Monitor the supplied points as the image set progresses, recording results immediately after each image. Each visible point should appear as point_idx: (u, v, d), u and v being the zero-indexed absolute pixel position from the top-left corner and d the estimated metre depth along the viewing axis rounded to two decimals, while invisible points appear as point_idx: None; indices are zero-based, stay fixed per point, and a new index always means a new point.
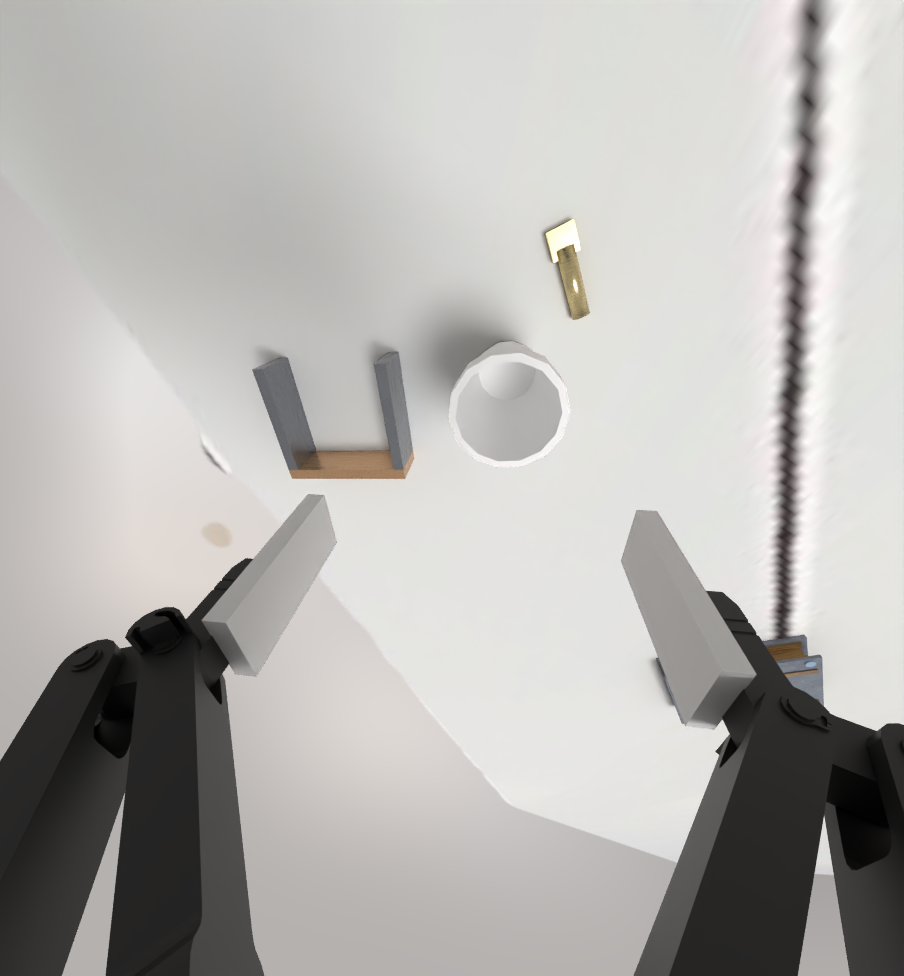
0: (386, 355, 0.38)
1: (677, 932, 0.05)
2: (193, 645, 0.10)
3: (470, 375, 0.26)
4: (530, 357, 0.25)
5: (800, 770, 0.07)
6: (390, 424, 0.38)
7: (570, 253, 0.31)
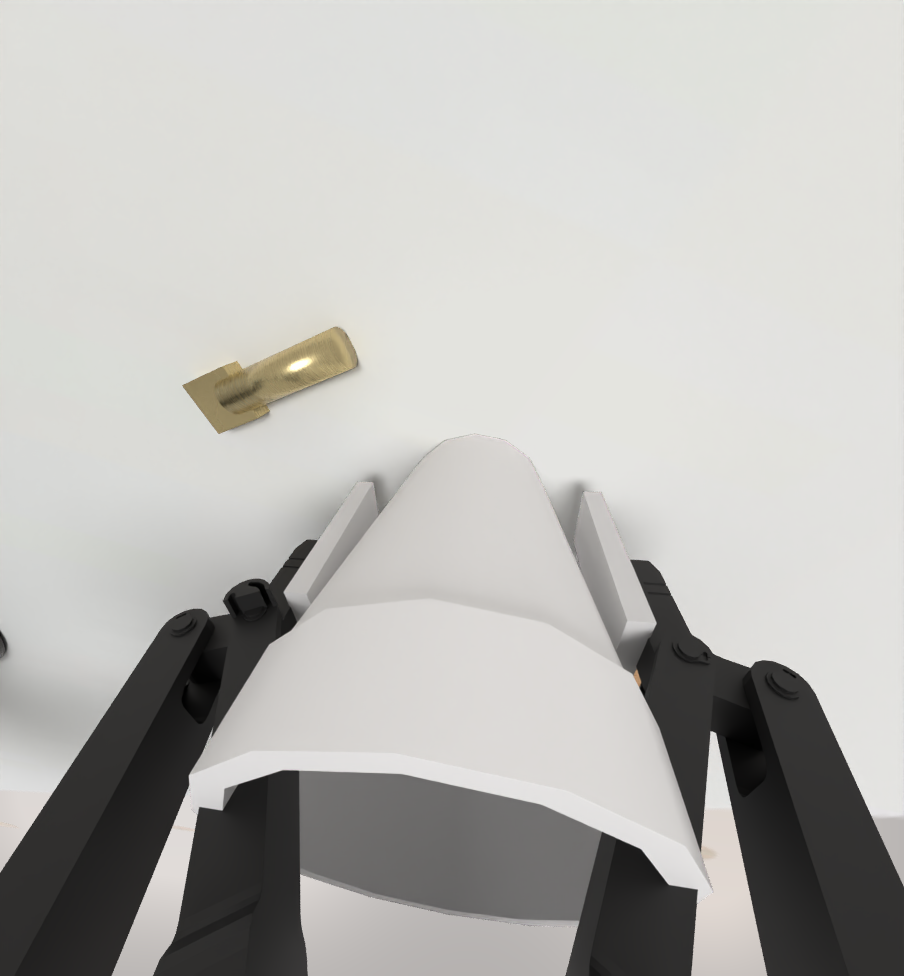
0: None
1: (605, 875, 0.06)
2: (276, 618, 0.10)
3: (308, 872, 0.09)
4: (194, 797, 0.06)
5: (690, 702, 0.08)
6: None
7: (226, 392, 0.15)
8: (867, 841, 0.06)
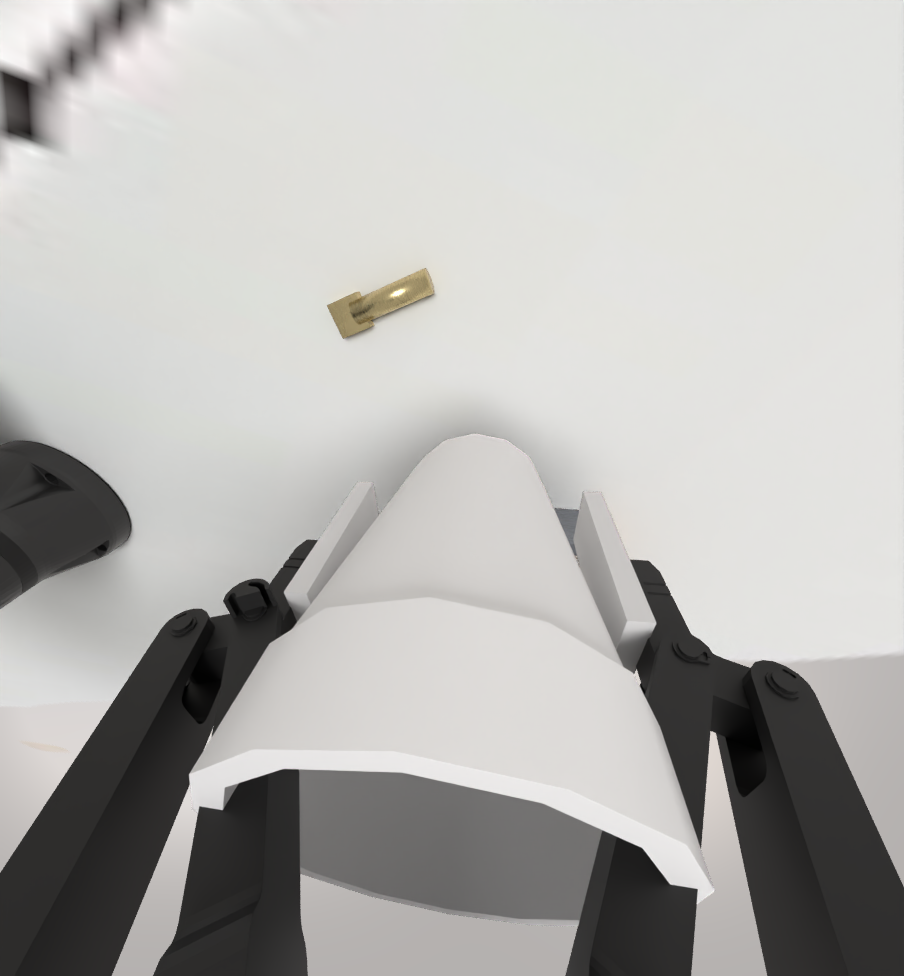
0: None
1: (605, 875, 0.06)
2: (276, 618, 0.10)
3: (308, 872, 0.09)
4: (195, 797, 0.06)
5: (690, 702, 0.08)
6: None
7: (357, 308, 0.25)
8: (867, 841, 0.06)
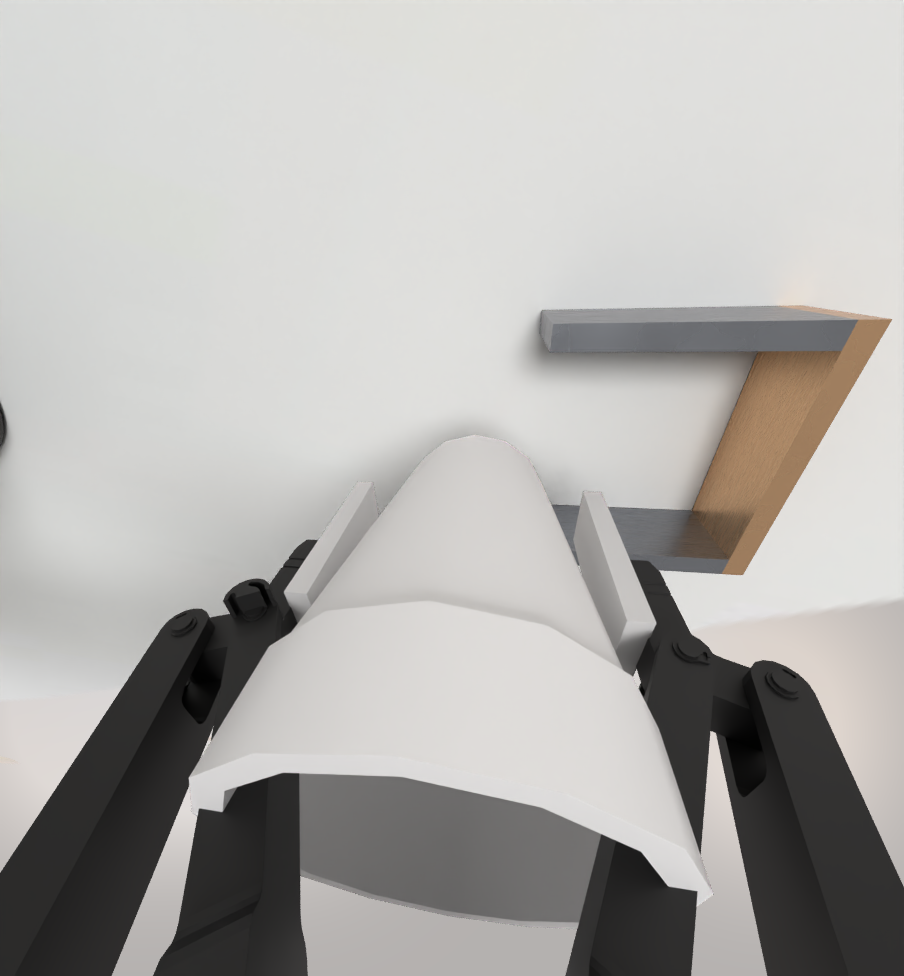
0: (542, 332, 0.19)
1: (605, 875, 0.06)
2: (276, 618, 0.10)
3: (308, 874, 0.09)
4: (194, 799, 0.06)
5: (690, 702, 0.08)
6: (703, 337, 0.15)
7: None
8: (867, 841, 0.06)
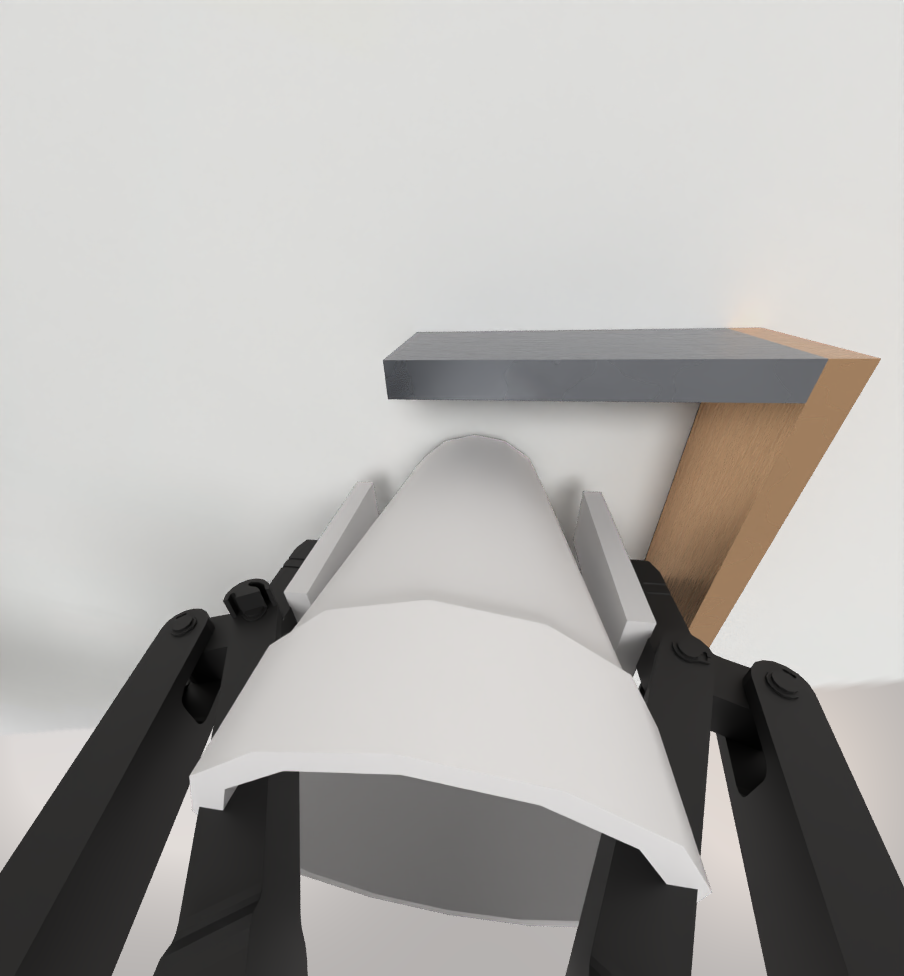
0: None
1: (605, 875, 0.06)
2: (276, 618, 0.10)
3: (308, 873, 0.09)
4: (195, 798, 0.07)
5: (690, 702, 0.08)
6: (599, 381, 0.10)
7: None
8: (867, 841, 0.06)
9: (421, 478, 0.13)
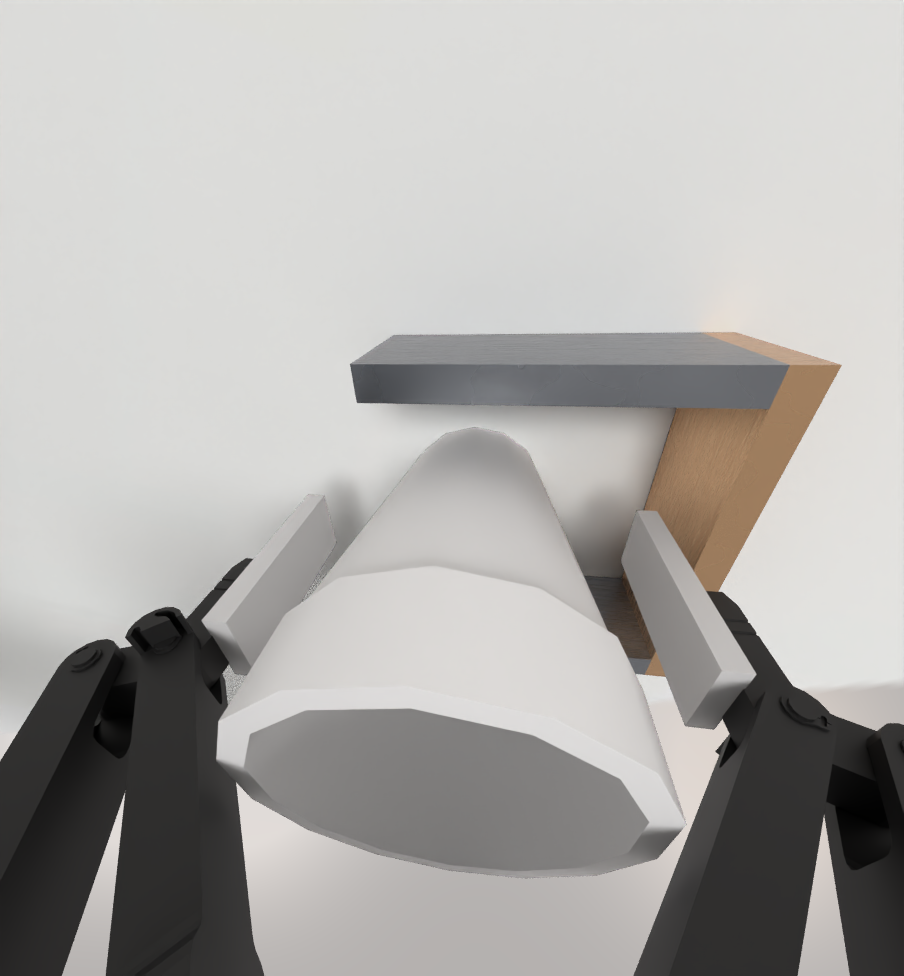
0: None
1: (677, 932, 0.05)
2: (193, 645, 0.10)
3: (319, 828, 0.09)
4: (220, 747, 0.07)
5: (799, 770, 0.07)
6: (565, 386, 0.10)
7: None
8: None
9: (424, 466, 0.13)
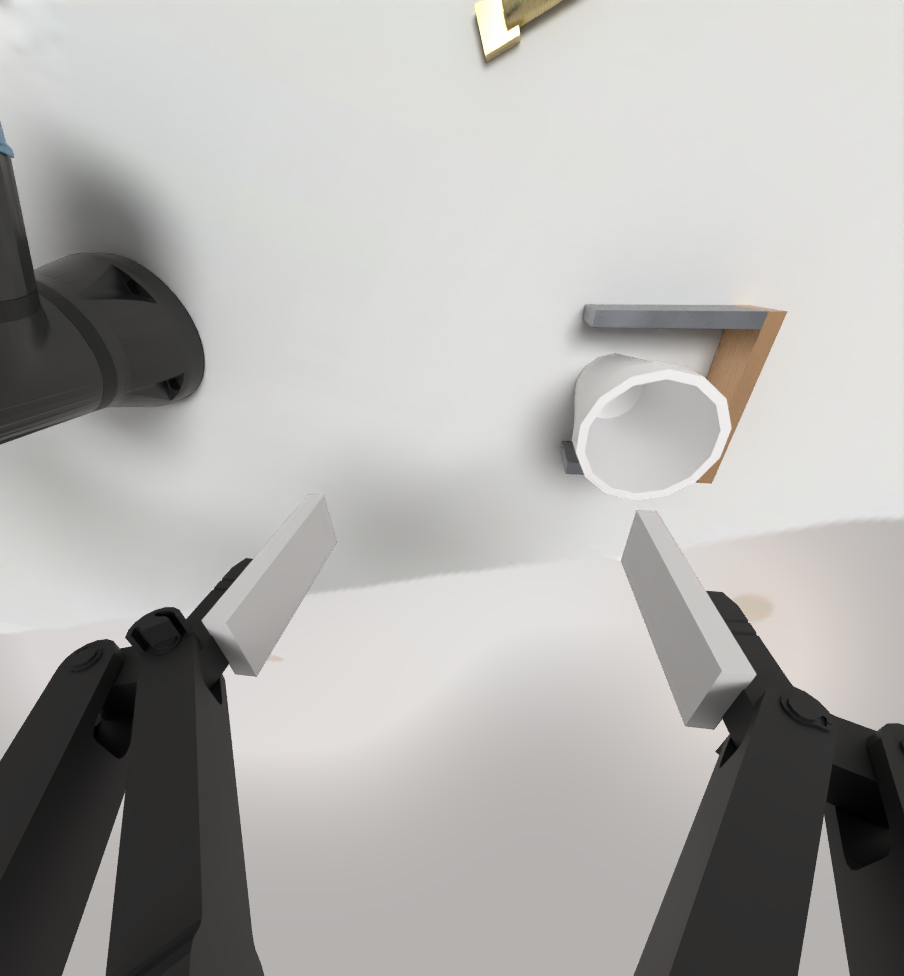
0: (585, 318, 0.31)
1: (677, 932, 0.05)
2: (193, 645, 0.10)
3: (591, 473, 0.26)
4: (587, 415, 0.24)
5: (800, 770, 0.07)
6: (682, 319, 0.27)
7: None
8: None
9: (607, 361, 0.30)
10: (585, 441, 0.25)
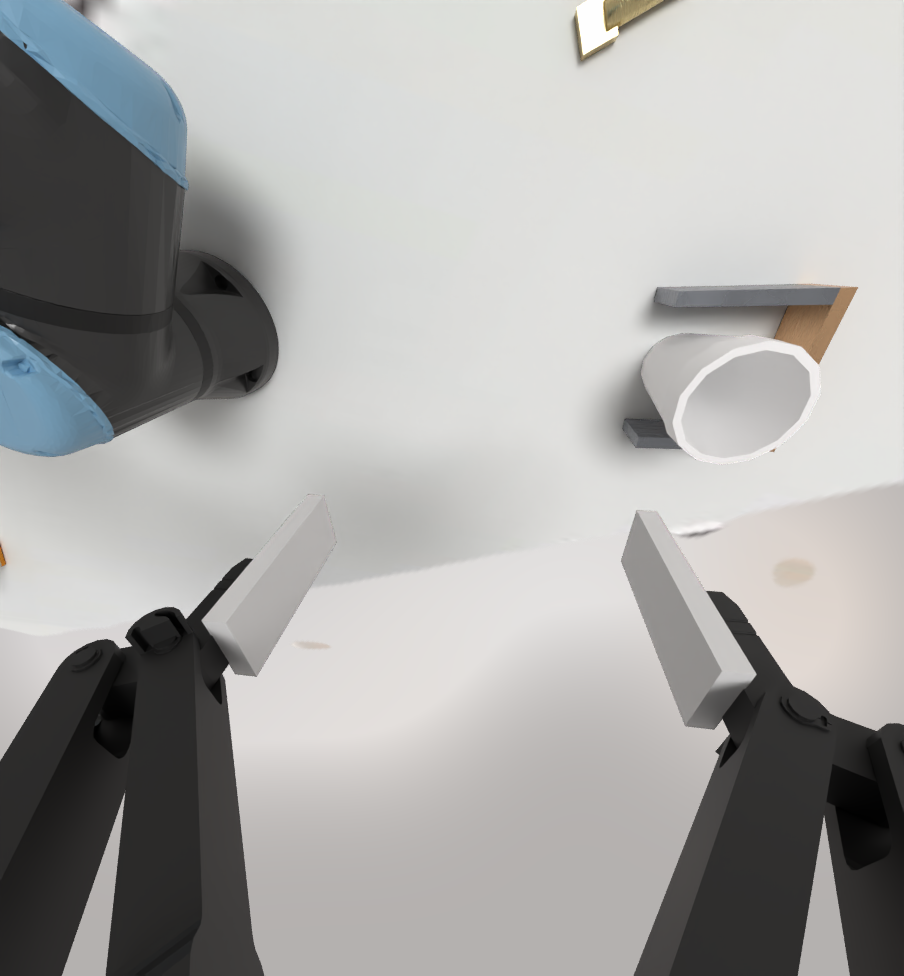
0: (659, 300, 0.33)
1: (677, 932, 0.05)
2: (193, 645, 0.10)
3: (684, 441, 0.28)
4: (687, 386, 0.26)
5: (799, 769, 0.07)
6: (759, 297, 0.29)
7: (615, 1, 0.24)
8: None
9: (683, 339, 0.32)
10: (682, 411, 0.27)
